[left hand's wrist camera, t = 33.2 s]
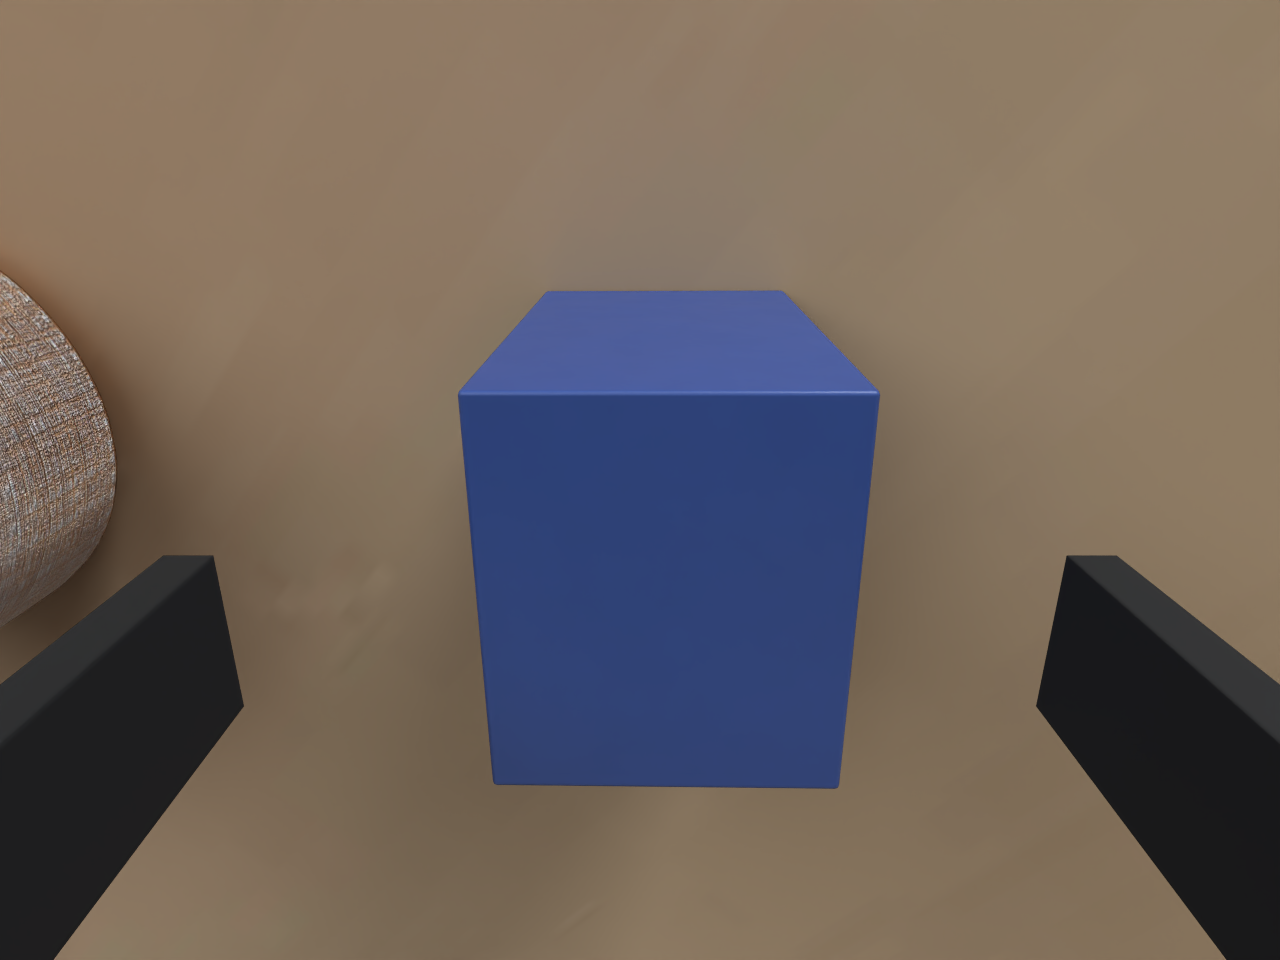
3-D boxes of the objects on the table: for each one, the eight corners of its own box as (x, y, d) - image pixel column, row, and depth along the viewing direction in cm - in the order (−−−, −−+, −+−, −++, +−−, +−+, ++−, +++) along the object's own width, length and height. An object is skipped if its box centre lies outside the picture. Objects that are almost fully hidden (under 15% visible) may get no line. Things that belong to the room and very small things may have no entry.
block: (768, 544, 23) (839, 790, 14) (557, 543, 23) (492, 786, 14) (783, 290, 20) (881, 390, 11) (545, 291, 20) (456, 391, 11)
